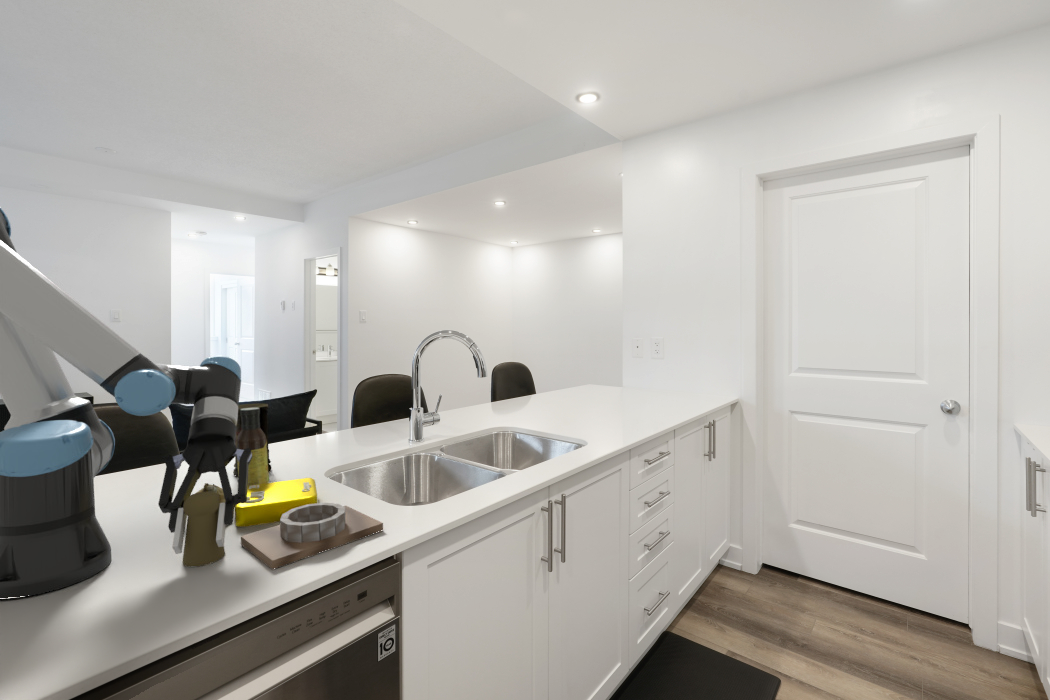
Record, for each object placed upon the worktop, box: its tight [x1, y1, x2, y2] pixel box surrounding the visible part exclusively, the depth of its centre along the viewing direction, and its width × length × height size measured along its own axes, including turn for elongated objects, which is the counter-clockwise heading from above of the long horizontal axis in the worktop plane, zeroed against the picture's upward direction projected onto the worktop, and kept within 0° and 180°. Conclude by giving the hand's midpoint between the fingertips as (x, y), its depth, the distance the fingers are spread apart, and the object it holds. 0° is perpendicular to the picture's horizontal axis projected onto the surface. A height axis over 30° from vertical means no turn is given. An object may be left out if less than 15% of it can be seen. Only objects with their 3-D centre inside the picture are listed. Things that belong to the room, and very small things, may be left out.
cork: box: [182, 491, 226, 567], centre depth 83 cm, size 6×6×11 cm
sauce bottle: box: [237, 408, 270, 486], centre depth 116 cm, size 6×6×20 cm
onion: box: [196, 482, 226, 516], centre depth 100 cm, size 8×8×8 cm
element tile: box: [234, 477, 319, 528], centre depth 105 cm, size 15×15×5 cm
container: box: [232, 403, 272, 477], centre depth 132 cm, size 9×9×18 cm
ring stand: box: [240, 502, 384, 570], centre depth 91 cm, size 20×14×4 cm
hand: (198, 546), depth 80 cm, fingers closed on cork, 5 cm apart
